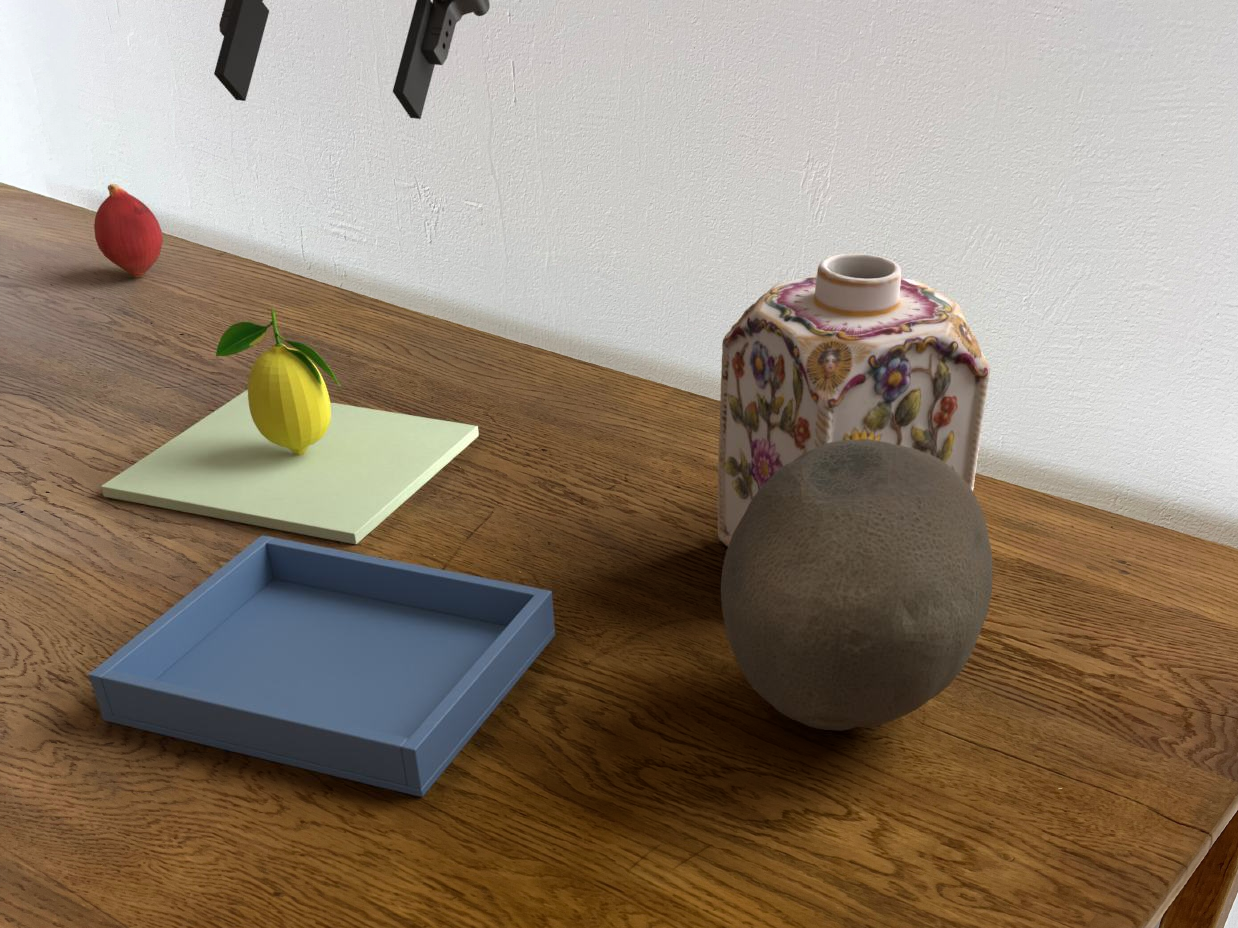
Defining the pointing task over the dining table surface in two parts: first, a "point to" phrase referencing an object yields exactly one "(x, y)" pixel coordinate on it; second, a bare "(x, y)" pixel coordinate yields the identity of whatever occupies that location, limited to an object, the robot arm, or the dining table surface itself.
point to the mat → (295, 470)
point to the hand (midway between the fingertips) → (316, 97)
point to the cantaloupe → (857, 583)
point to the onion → (127, 232)
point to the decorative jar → (845, 375)
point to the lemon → (283, 387)
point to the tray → (330, 662)
